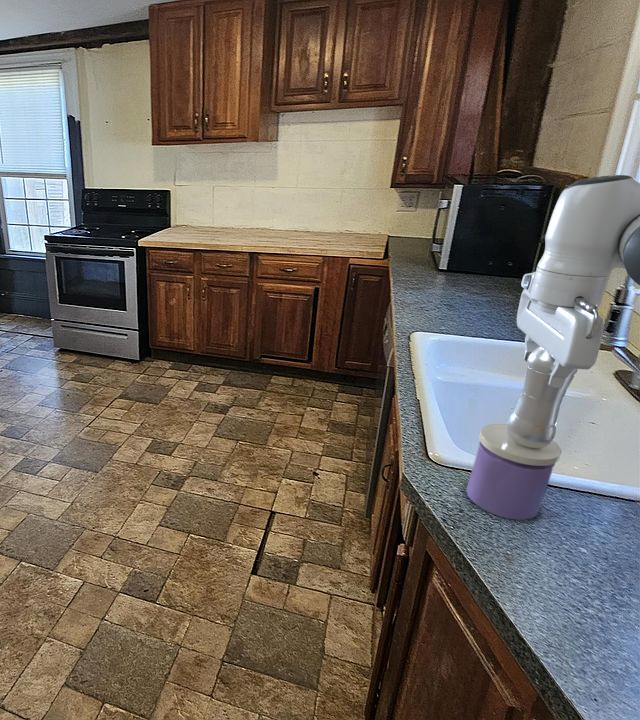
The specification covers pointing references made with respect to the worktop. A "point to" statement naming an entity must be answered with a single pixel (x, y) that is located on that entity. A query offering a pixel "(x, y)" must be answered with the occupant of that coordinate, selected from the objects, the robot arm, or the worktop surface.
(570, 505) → the worktop surface
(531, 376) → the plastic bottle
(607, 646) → the worktop surface
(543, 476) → the jar
